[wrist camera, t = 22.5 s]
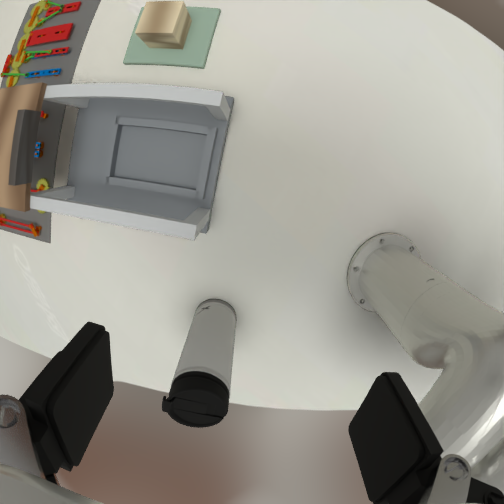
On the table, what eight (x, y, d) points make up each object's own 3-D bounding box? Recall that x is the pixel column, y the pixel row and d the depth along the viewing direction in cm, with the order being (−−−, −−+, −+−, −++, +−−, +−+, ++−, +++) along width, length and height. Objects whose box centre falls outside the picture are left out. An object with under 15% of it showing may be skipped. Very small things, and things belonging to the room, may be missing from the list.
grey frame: (234, 100, 35) (227, 74, 24) (208, 230, 40) (191, 257, 29) (90, 89, 34) (44, 72, 23) (72, 205, 39) (23, 221, 28)
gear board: (25, 2, 25) (103, -18, 26) (31, 5, 27) (108, -12, 29) (-21, 226, 38) (44, 246, 39) (-13, 223, 40) (52, 242, 41)
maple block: (192, 20, 31) (183, 1, 25) (182, 49, 32) (172, 33, 27) (159, 19, 31) (146, 1, 25) (149, 48, 32) (134, 32, 26)
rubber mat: (220, 11, 31) (220, 8, 30) (203, 68, 34) (203, 66, 33) (143, 9, 30) (142, 7, 30) (125, 64, 33) (122, 62, 32)
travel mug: (197, 293, 43) (163, 384, 24) (240, 304, 44) (234, 400, 25) (190, 328, 45) (159, 423, 26) (231, 337, 46) (221, 437, 26)
